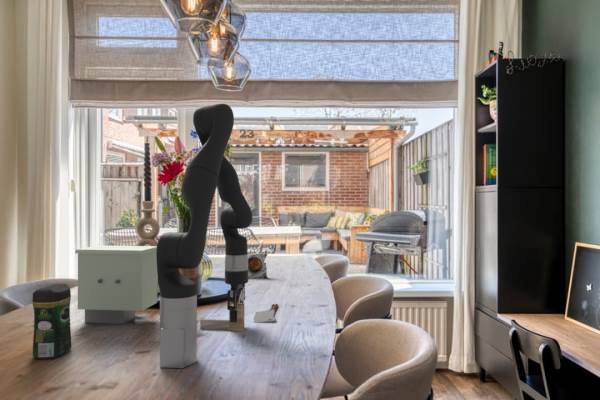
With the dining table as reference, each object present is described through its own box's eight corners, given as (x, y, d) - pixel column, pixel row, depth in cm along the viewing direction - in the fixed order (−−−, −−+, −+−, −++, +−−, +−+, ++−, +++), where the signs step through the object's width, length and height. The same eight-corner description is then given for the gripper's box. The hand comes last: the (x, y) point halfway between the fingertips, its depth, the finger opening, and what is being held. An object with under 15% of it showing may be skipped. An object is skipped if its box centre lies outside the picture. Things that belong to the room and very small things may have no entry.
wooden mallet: (241, 331, 142) (241, 305, 142) (198, 329, 143) (198, 304, 143) (244, 327, 146) (244, 303, 146) (202, 326, 147) (202, 301, 147)
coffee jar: (47, 348, 126) (47, 281, 126) (75, 348, 125) (75, 282, 125) (26, 360, 116) (26, 288, 116) (56, 360, 116) (56, 288, 116)
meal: (268, 277, 240) (268, 252, 240) (266, 278, 236) (266, 253, 236) (240, 276, 242) (240, 252, 242) (238, 277, 238) (238, 253, 238)
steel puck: (145, 324, 150) (145, 318, 150) (130, 324, 150) (130, 318, 150) (151, 320, 155) (151, 314, 155) (137, 320, 155) (137, 314, 155)
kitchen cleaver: (258, 304, 176) (283, 303, 175) (258, 307, 176) (283, 306, 175) (246, 322, 152) (275, 321, 151) (246, 325, 152) (275, 324, 151)
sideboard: (141, 328, 144) (142, 250, 144) (74, 326, 146) (74, 249, 146) (159, 317, 158) (159, 246, 158) (97, 316, 160) (97, 245, 160)
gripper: (243, 272, 137) (243, 325, 137) (252, 264, 151) (252, 312, 151) (219, 272, 138) (219, 324, 138) (230, 264, 152) (230, 312, 152)
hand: (236, 318), depth 145 cm, fingers open, 8 cm apart
